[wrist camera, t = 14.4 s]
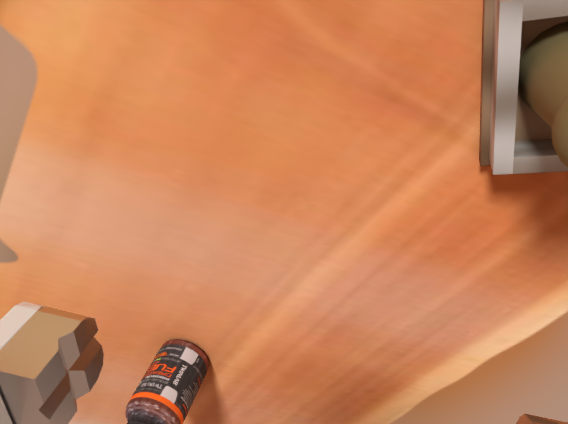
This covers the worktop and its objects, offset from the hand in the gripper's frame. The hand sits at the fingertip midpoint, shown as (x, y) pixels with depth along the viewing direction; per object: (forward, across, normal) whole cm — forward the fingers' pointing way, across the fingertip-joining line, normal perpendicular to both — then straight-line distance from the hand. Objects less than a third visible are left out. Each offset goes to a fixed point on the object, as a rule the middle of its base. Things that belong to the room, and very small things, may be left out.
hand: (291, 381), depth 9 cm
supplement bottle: (+29, +17, +38) cm, 51 cm away
